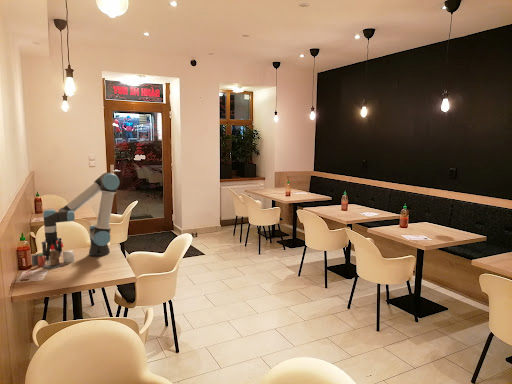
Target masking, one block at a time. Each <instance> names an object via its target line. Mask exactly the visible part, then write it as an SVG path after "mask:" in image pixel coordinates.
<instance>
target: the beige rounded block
mask: <svg viewBox="0 0 512 384" xmlns="http://www.w3.org/2000/svg"><path fill="white" fill-rule="evenodd" d="M62 257H63V260H62V261H63V264H72V263H74V262H75V255H74V250H73V249H67V250H64V251H63V250H62Z"/></svg>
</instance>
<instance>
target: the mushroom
mask: <svg viewBox="0 0 512 384" xmlns="http://www.w3.org/2000/svg"><path fill="white" fill-rule="evenodd" d="M56 242H57V241H56ZM64 243H65V242H64V241H63V240H61V246H62V248H64V247H65V246H64ZM57 246H58V242H57ZM52 250H55V248H54V245H53V244H52V245H51V247H50V251H52ZM61 256H63V251H62V252H60V257H61Z"/></svg>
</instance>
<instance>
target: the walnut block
mask: <svg viewBox="0 0 512 384" xmlns="http://www.w3.org/2000/svg"><path fill="white" fill-rule="evenodd" d="M49 256H50V260H51V265H55V264H59V263H60V257H59V252H58V251H56V250H52V251H51V250H50V253H49ZM47 264H48V263H47V262H46V265H47Z"/></svg>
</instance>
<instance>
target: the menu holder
mask: <svg viewBox="0 0 512 384" xmlns="http://www.w3.org/2000/svg"><path fill="white" fill-rule="evenodd" d="M39 254H43V252H39V253H36V254H32V255H31V256H30V257H31V265H32V266H39V265H38V256H39ZM44 260H45V261H46V256H44Z"/></svg>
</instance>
